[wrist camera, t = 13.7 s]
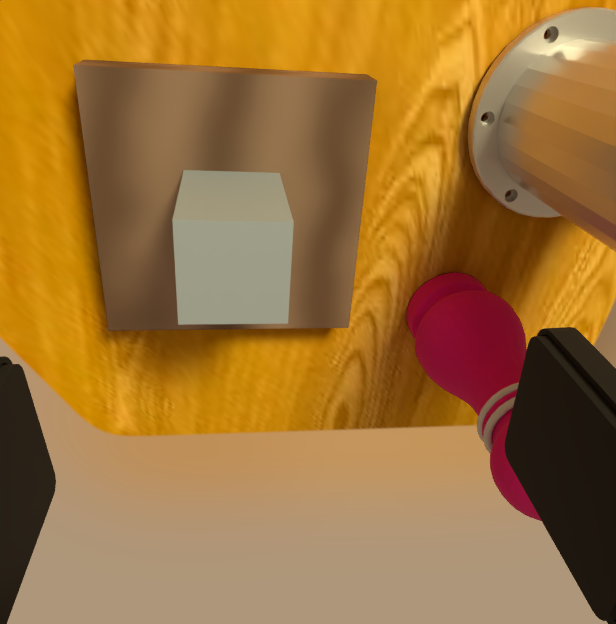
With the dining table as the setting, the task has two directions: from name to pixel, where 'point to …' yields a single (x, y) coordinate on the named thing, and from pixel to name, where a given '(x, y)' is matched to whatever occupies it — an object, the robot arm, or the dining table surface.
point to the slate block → (232, 248)
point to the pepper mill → (474, 361)
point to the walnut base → (222, 157)
